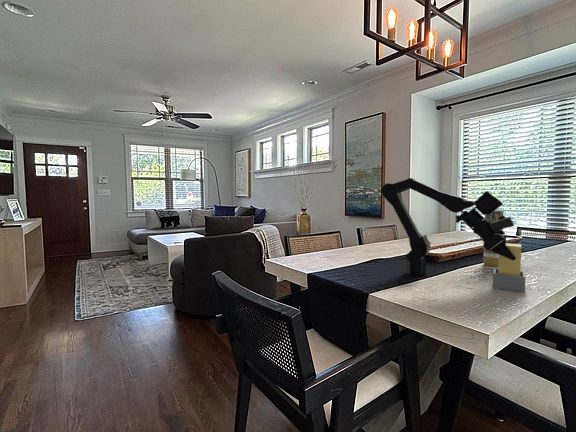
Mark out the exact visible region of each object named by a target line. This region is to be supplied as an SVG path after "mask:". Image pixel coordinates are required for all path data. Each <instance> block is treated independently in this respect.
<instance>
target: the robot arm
mask: <svg viewBox="0 0 576 432" xmlns="http://www.w3.org/2000/svg"><path fill="white" fill-rule="evenodd" d="M407 190H413V191H414V192H417V193H419V194H421V195H423V196H425V197H427V198H430V199H432V200H435V202H438V203H439V204H440V205H442V206H443V207H444V208H446V209H447V210H449V212H451V213H456V214H457V213H461V214H459V215H458V214H457V215H455V223H456V224H458V223H460V222H463V223H464V224H465V225H466V226H467V227H469V229H470V230H472V232H473V233H474V234H476V235H477V236H478V237H479V238H480V239H481V241H482V242H483V245H482V247H483V249H484V248H485V249H486V250H487V251H488V250H490V251H492V252H495V253H497V254H500V255H502V256H504V257H507V258H509V259H511V260H515V259H516V257H515V256H514V255H513V253H512V252H511V251H510V250H509V248H508V247H507V246H506V243H508V242H507V234H506V232H505V231H504V230H505V229H507V228H511V227H514V226H515V223H514V221H513V220H512V218H511V216H507V217H506V216H505V215H503V216H500V217H499V220H498V221H495V222H491V221H488V220H486V219H485V214H486V213H487V214H488V215H490V214H491V213H493V212H494V211H495V210H496V209H499V208H500V207H501V206H503V205H504V203H503V202H502V201H501V200H499V198H497V196H494V195H493V194H491V192H489V191H488V190H487V191H486V190H485V191H484V192H483V194H482V195H481V196H479V197H478V198H477V199H476V200H475V201H474V200H466V199H465V198H464V197H462V196H458V195H454V194H450V193H447V192H443V191H441V190H438V189H436V188H434V187H432V186H430V185H427V184H425V183H423V182H420V181H418V180H416V179H415V178H412V177H410V178H409V177H408V178H406V179H404V180H401V181H398V182H394V183H390V182H389V183H385V184H383V186H382V187H381V189H380V192H381V195H382V196H383V197H384V199H385V200H386V201H387V202H388V203H389V205H391V206H392V208H393V209H394V212H395V213H396V215H397V216H396V217H398V219H399V221H400V223H401V225H402V227H403V229H404V231H405V233H406V234H407V237H408V241H409V247H410V249H411V250H410V251H409V252H408V253H406V254H405V258H406V265H405V266H406V268H405V269H406V270H405V271H404V273H405V274H407V275H408V276H410V277H427V276H428V274H427V263H426V259H425V256H426V255H428V254H429V253H430V252H431V249H432V247H431V245H432V243H431V241H429V239H428V236H427V234H421V233H420V232H419V230H418V228H417V225H416V224H415V222H414V219H412V217H411V214H410V213H409V211H408V209H407V207H406V205H405V204H404V202H403V201H404V200H403V196H402V195H403V194H402V193H403V192H406V191H407ZM470 208H472V209H470ZM466 209H470V210H469V211H468V210H466ZM476 209H477V210H476ZM478 211H479V212H478ZM483 215H484V216H483ZM502 229H503V230H502ZM502 235H503V236H502Z"/></svg>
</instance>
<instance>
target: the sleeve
mask: <svg viewBox="0 0 576 432" xmlns="http://www.w3.org/2000/svg"><path fill="white" fill-rule="evenodd" d="M525 273H526V272H525V271H522V270H520V276H514V275H505V274H498V268H497V267H496V268H495V267H494V268H493V271H492V289H498V290H499V289H500V290H505V291H512V292H520V293H526V277H527V276H526V274H525Z"/></svg>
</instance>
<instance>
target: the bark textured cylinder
mask: <svg viewBox="0 0 576 432" xmlns="http://www.w3.org/2000/svg"><path fill="white" fill-rule="evenodd" d="M500 216H504V209H499V208H498V209H496V210H495V211H494V212H493V213H491V214H490V215H488V214H487V213H486V214H485V215H484V218H485V219H486V220H488V221H491V222H495V221H498V220H499V217H500ZM502 230H503V231H504V229H502ZM502 236H504V235H502ZM482 260H483V265H485V266H488V267H492V268H493V267H494V268H495V267H496V268H498V267H499V254H497V253H495V252H492V251H490V250H488V251H487V250H486V249H485V248H484V247H483V259H482Z"/></svg>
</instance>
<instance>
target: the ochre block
mask: <svg viewBox="0 0 576 432" xmlns="http://www.w3.org/2000/svg"><path fill="white" fill-rule="evenodd" d="M506 246H507V247H508V248H509V250H510V251H511V252H512V253H513V255H514V256H515V257H516V259H515V260H511V259H509V258H507V257H504V256H502V255H500V254H499V267H497V269H498V274H505V275H514V276H520V271H521V266H522V265H521V264H522V263H521V261H522V243H521V244H520V243H508V242H507V243H506Z"/></svg>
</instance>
